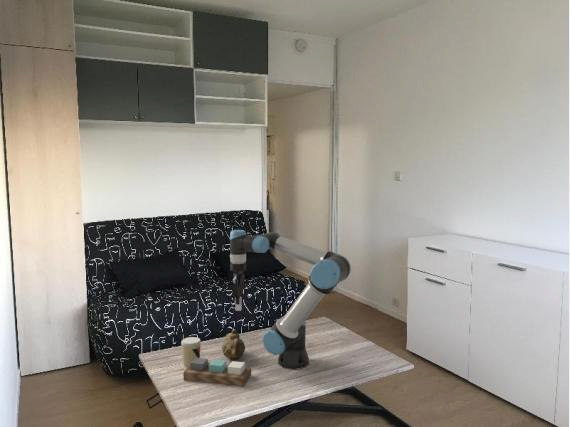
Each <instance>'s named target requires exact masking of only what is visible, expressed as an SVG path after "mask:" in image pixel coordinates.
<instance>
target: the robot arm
mask: <svg viewBox="0 0 570 427" xmlns="http://www.w3.org/2000/svg"><path fill="white" fill-rule="evenodd" d="M229 248H230V249H229V250H230V254H229V258H230V259H229V260H230V261H229V262H230V264H229V265H230V266H229V267H230V268H229V269H230V271H231V272H233V275H232V278H231V285H232V293H233V296H232V297H233V298H234V301H235V302H234V304H235V310H234V311H235V312H236V311H238V312H241V311H242V309H243V305H242V301H243V300H242V299H243V298H242V297H244V296H245V295H244V286H245V277H246V276H245V273H244V272H245V271H246V270H247V262H246V261H247V252H250V253H252V252H253V253H258V254H259V253H260V254H261V253H262V254H264V253H266V252H267V251H268V250H269V249H270V250H273V251H275V252H278V253H281V254H284V255H286V256H289V257H291V258H295V259H296V260H299V261H302V262H305V263H306V264H310V265H313V266H312V268H311V270H310V275H308V277H307V280H308V283H307V285H306V286H305V287H304V289H303V290H302V291H301V293H300V294H299V295H298V297H297V298H296V300H295V301H294V302H293V304H291V307H289V309H288V310H287V311H286V313H285V315H283V316H282V317H280V318H278V319H277V320H276V321H275V322H274V324H273V325H272V327H271V328H270V329H267V330H266V331H265V332H264V334H263V335H262V343H263V347H264V348H265V350H266V351H267V352H268V353H269V354H271V355H273V356H278V357H277V364H278V366H280V367H281V366H282V368H284V369H287V368H289V369H288V370H297V369H296V368H300V369H302V368H301V367H304V368H306V367H307V366H308V365H309V364H310V358H309V355H308V352H307V349H306V334H307V333H306V326H307V324H306V320H307V318H309V316H310V315H311V314H312V312H313V311H314V309H315V308H316V307H317V305H318V304H319V303H320V301H322V299H323V298H324V297H325V296H326V295H327V296H328V295H330V294H331V293H332V292H333V291H334V289H335V288H336V287H337V286H338V284H339V283H342V282H344V281H345V280H346V279H348V277H349V276H350V273H351V270H352V269H351V264H350V262H349V259H348V258H346V257H345V256H343V255H341V254H339V253H336V252H333V251H331V250H330V251H329V250H328V251H323V250H321V249H318V248H315V247H312V246H310V245H306V244H303V243H300V242H298V241H295V240H293V239H290V238H286V237H283V236H282V235H280V233H279V232H277V231H269V232H266V233H263V234H257V235H247V233H246V230H243V229H234V230H231V231H230V235H229ZM308 363H309V364H308ZM306 365H307V366H306ZM305 366H306V367H305ZM290 368H291V369H290Z"/></svg>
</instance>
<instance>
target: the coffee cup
mask: <svg viewBox="0 0 570 427" xmlns="http://www.w3.org/2000/svg"><path fill="white" fill-rule="evenodd" d="M201 343H202V341H201V338H199V337H194V336H189V337H185V338H183V339H182V340H181V342H180V344H181V355H182V363H183V366H184V367H185V368H188V367H189V366H190V363H191V362H192V361H193V360H194V359H195V358H201Z"/></svg>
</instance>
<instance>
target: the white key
mask: <svg viewBox="0 0 570 427" xmlns="http://www.w3.org/2000/svg"><path fill="white" fill-rule="evenodd" d="M228 365H229V366H228V374H235V375H242V373H243V372H244V371H245V366H246V363H245V361H244V362H243V361H242V362H241V361H234V360H233V361H231V362H230V363H229V364H228Z"/></svg>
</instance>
